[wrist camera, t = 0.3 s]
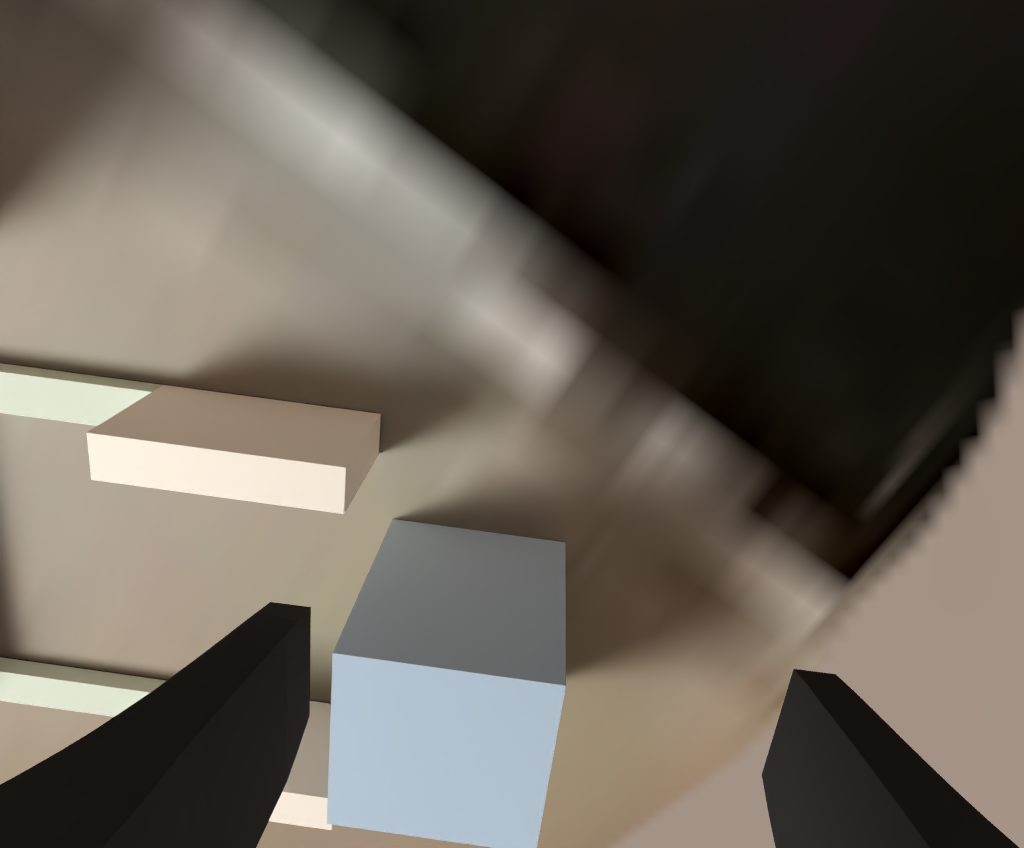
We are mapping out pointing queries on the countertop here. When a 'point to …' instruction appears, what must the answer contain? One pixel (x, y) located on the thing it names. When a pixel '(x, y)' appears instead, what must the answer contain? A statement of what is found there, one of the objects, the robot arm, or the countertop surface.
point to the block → (450, 687)
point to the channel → (206, 471)
